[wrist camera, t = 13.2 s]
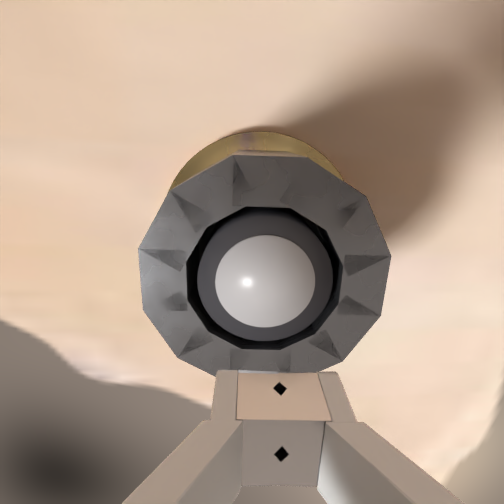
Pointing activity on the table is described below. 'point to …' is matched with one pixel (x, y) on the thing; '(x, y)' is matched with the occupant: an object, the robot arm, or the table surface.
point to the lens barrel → (262, 195)
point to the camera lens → (264, 274)
